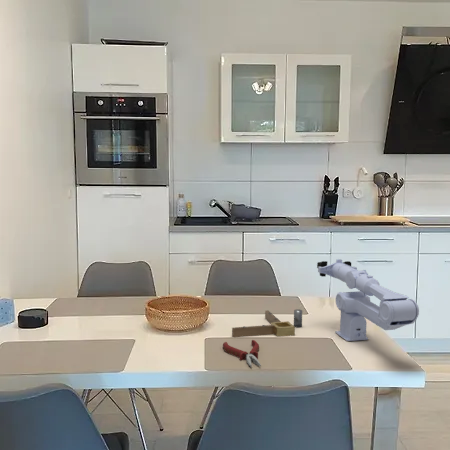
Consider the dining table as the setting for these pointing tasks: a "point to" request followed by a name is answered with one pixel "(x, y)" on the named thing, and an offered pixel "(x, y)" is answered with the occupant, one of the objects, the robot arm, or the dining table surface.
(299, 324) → the hinge pin
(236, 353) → the pliers
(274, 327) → the hinge
